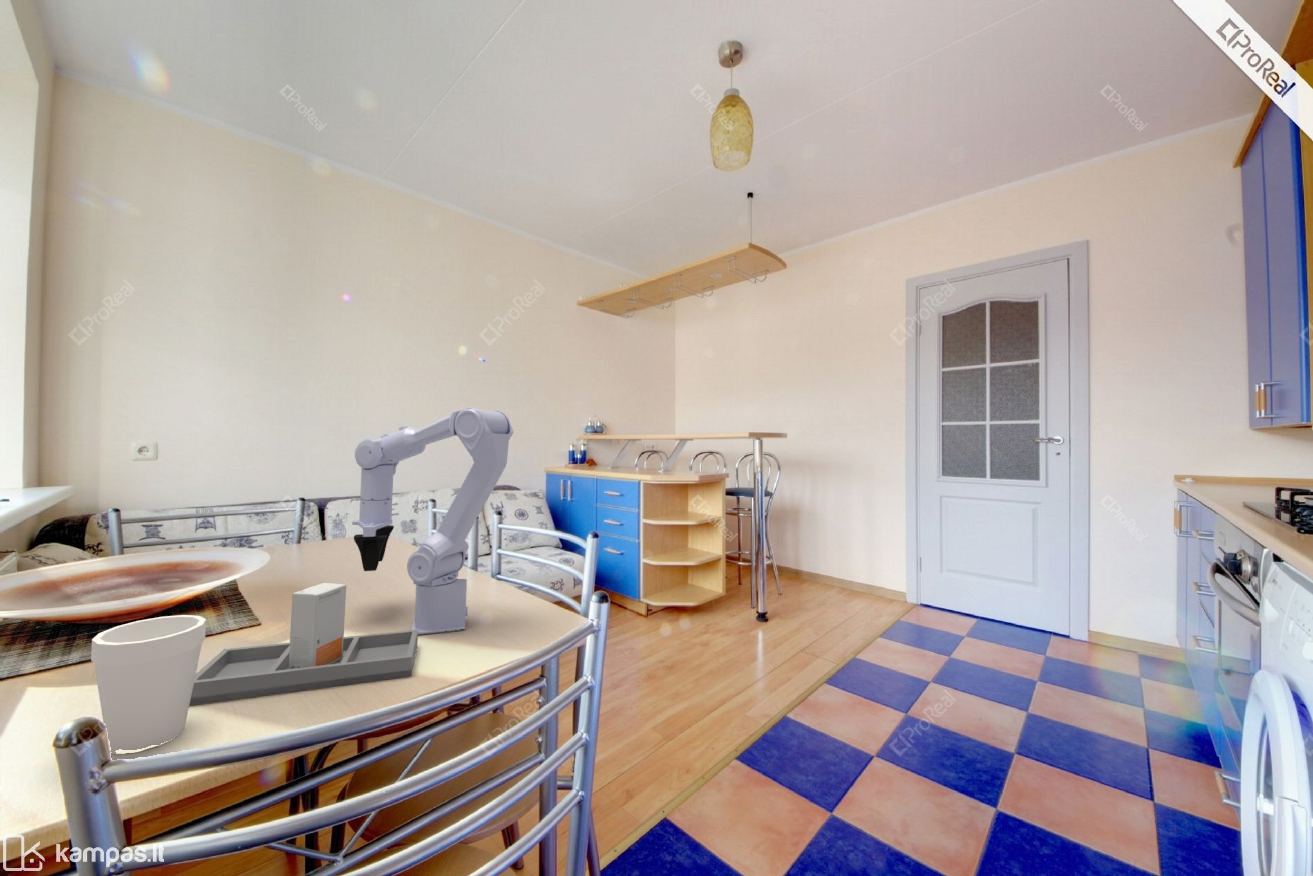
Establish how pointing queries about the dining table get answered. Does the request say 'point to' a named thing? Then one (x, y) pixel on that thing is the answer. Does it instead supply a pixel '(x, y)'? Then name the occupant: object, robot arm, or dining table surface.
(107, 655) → the foam cup
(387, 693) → the dining table surface
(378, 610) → the dining table surface
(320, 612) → the skincare box
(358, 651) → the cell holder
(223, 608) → the dining table surface
